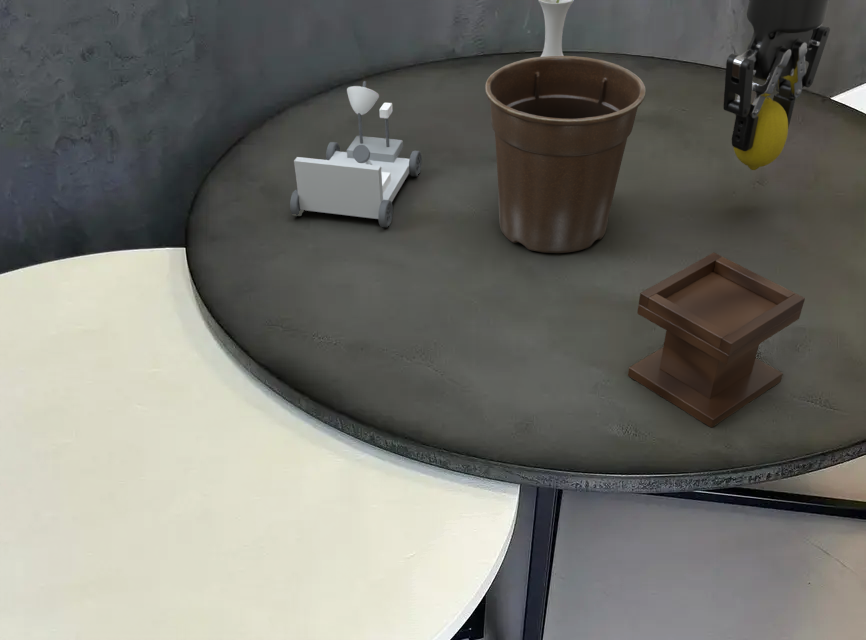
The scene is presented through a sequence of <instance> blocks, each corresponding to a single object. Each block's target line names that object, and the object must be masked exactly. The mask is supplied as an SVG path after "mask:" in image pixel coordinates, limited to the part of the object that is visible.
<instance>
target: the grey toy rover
mask: <svg viewBox="0 0 866 640" xmlns="http://www.w3.org/2000/svg"><path fill="white" fill-rule="evenodd" d="M346 94H347V97H348V101H349V104H350V107H351V109H352V110H353V112H354V113H355V114H356V115H357V122H358V123H357V124H358V135H356V136H355V138H354V139H353V140H352V142H351V143H350V145H349V146H348V147H347V149H346V151H341V148H340V144H339V143H338V142H336V141H330V142H329V143H328V145H327V147H326V151H325V152H326V153H325V159H321V158H312V157H311V158H310V157H304V156H303V157H302V156H296V158H295V159H294V160H293V165H294V172H295V181H296V188H297V189H294V191H292V193H291V196H290V203H289V207H290V208H289V209H290V213H291V215H292V214H296V215H298V214H299V211H300V210H305V211H306V212H307V211H308V212H317V213H325V214H333V215H340V216H341V215H342V216H350V217H358V218H366V219H375V220H377V221H378V224H379V226H380V227H381V228H389V227H390V225H391V223H392V220H393V213H394V210H393V209H394V208H393V207H394V206H393V201H394V199H395V198H396V196H397V194H398V192H399V191H400V189H401V188H402V186H403V184H404V183H405V180H406V179H407V178H408V176H409V175H410V176H411V177H416V178H417V177H419V175H420V174H421V170H422V165H423V162H422V161H423V158H422V157H423V156H422V151H420V150H412V151H411V154H410V155H409V158H405V157H399V156H400V154H401V152H402V151H403V149H404V142H403V139H396V138H395V139H394V138H390V129H389V117H390V116H391V115H392V114H393V109H394V108H393V102H390V101H389V102H383V103H382V105H381V107H380V108H378V109H379V111H378V112H379V118H380V119H384V129H385V138H384V137H377V136H376V137H374V136H364V134H363V122H362V116H364V115H365V114H368V112H370V111H371V110H372V109H373V107H374V106H375V104H376V103H377V101H378V100H379V99H380V94H379V93H378V92H377V91H375V90H373V89H372V88H368V87H367V81H366V80H363V82H362V86H360V85H353V86H348V87H347V88H346ZM419 173H420V174H419ZM418 174H419V175H418ZM390 222H391V223H390ZM389 224H390V225H389ZM388 226H389V227H388Z"/></svg>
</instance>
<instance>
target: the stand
mask: <svg viewBox="0 0 866 640" xmlns="http://www.w3.org/2000/svg"><path fill="white" fill-rule="evenodd" d="M805 301H806V297H804V296H802V295H800V294H798V293H796V292H794V291H792V290H790V289H788V288H786V287H784V286H782V285H780V284H778V283H776V282H774V281H772V280H770V279H768V278H766V277H764V276H762V275H761V274H758V273H757V272H755V271H752V270H750V269H748V268H746V267H744V266H742V265H740V264H738V263H736V262H734V261H732V260H730V259H728V258H726V257H724V256H722V255H720V254H719V253H716V252H711V253H710V254H707V255H706V256H704V257H703V258H701V259H699V260H697V261H695V262H694V263H691V264H690V265H688V266H686V267H684V268H683V269H681V270H679V271H677V272H676V273H674V274H672V275H670V276H668V277H666V278H665V279H663V280H661V281H660V282H657V283H655V284H654V285H652V286H650V287H649V288H647V289H645V290H643V291H640V293H639V299H638V306H637V313H636V314H638V315H639V316H640V317H643V318H644V319H646V320H648V321H649V322H651V323H652V324H655V325H656V326H658V327H660V328H662V329H663V330H665V336H664V340H663V341H664V342H663V346H662V347H661V348H659V349H658V350H656V351H654V352H653V353H651V354H649V355H647V356H645V357H644V358H643V359H640V360H639V361H637V362H636V363H634V364H632V365H631V366H629V367H628V371H627V376H628V377H629V378H631V379H633V380H634V381H636V382H637V383H639V384H640V385H642V386H643V387H644V388H646V389H648V390H650V391H652V392H653V393H655V394H656V395H658V396H659V397H661V398H663V399H664V400H666V401H668V402H669V403H671V404H672V405H674V406H676V407H677V408H679V409H680V410H682V411H684V412H685V413H687V414H688V415H690V416H692V417H693V418H694V419H696V420H698V421H700V422H701V423H703V424H704V425H705V426H708V427H709V428H713V427H715V426H717V424H720V423H721V422H722V421H724V420H725V419H727V418H728V417H730V416H731V415H733V414H734V413H736V412H738V411H739V410H740V409H742V408H744V407H745V406H746V405H748V404H749V403H751V402H753V401H754V400H755V399H757V398H759V397H760V396H761V395H763V394H764V393H766V392H767V391H769V390H770V389H772V388H773V387H776V385H778V384H779V383H781V382H782V379H783V376H784V373H783V372H782V371H780V370H778V369H776V368H774V367H773V366H771V365H769V364H768V363H766V362H764V361H762V360H760V359H759V358H757V355H758V350H759V348H760V344H762V343H764V342H765V341H766V340H768V339H769V338H771V337H772V336H774V335H776V334H778V333H780V332H781V331H783V330H784V329H786V328H787V327H789V326H790V325H792V324H794V323H795V322H797V321H798V320H800V317H801V314H802V310H803V307H804V304H805Z"/></svg>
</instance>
